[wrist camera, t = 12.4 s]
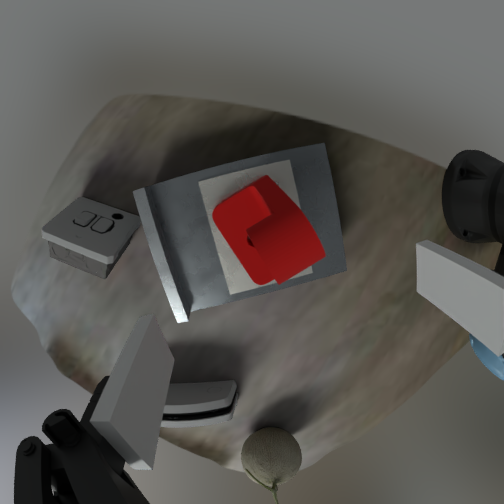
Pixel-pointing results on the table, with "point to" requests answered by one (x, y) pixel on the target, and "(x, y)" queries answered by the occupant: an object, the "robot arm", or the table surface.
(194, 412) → the grey curved slab
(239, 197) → the bracket
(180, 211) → the grey ridged box
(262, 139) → the table surface
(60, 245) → the electrical switch
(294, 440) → the fruit
